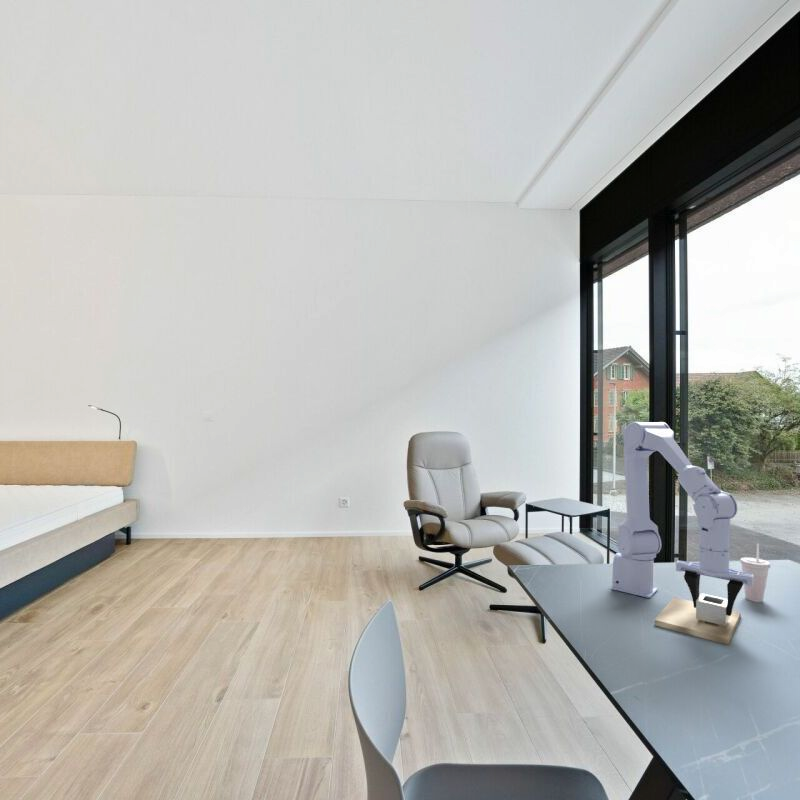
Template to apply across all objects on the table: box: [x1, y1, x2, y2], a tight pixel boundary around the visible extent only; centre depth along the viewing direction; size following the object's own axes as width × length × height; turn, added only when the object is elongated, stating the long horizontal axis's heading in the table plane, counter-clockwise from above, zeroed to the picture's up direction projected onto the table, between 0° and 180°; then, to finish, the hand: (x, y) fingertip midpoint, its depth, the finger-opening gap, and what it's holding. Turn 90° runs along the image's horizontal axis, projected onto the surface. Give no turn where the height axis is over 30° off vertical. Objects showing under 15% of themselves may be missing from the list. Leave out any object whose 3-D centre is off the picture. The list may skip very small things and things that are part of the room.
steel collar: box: [696, 593, 730, 626], centre depth 117 cm, size 6×6×4 cm
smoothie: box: [739, 543, 771, 603], centre depth 135 cm, size 6×6×14 cm
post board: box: [654, 596, 742, 646], centre depth 120 cm, size 14×18×5 cm
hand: (712, 610), depth 117 cm, fingers closed on steel collar, 6 cm apart
